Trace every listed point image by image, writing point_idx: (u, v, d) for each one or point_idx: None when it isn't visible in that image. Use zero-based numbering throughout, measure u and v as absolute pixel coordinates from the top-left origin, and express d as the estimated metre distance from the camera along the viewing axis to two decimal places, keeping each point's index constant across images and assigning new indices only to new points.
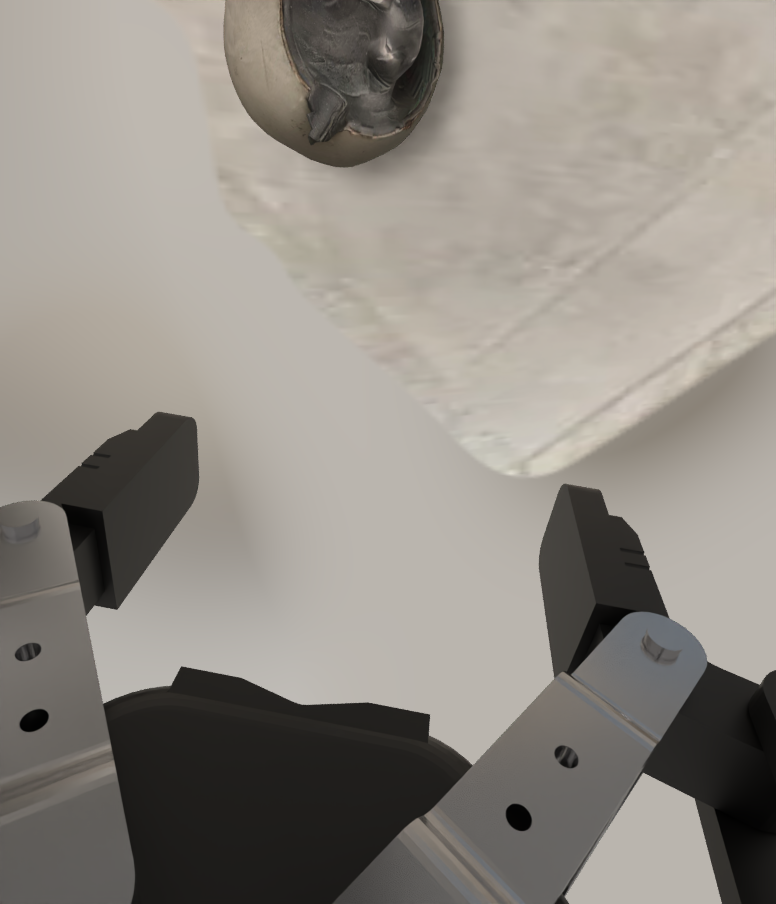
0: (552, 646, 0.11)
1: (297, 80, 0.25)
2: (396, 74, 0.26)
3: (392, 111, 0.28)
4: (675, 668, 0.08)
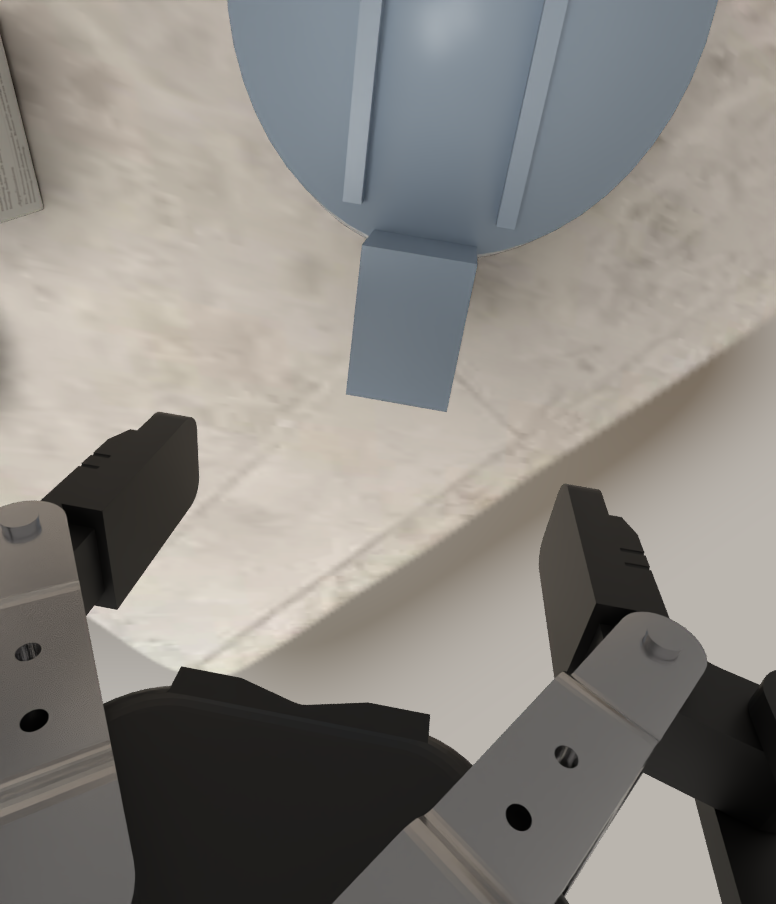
0: (552, 646, 0.11)
1: None
2: None
3: None
4: (675, 668, 0.08)
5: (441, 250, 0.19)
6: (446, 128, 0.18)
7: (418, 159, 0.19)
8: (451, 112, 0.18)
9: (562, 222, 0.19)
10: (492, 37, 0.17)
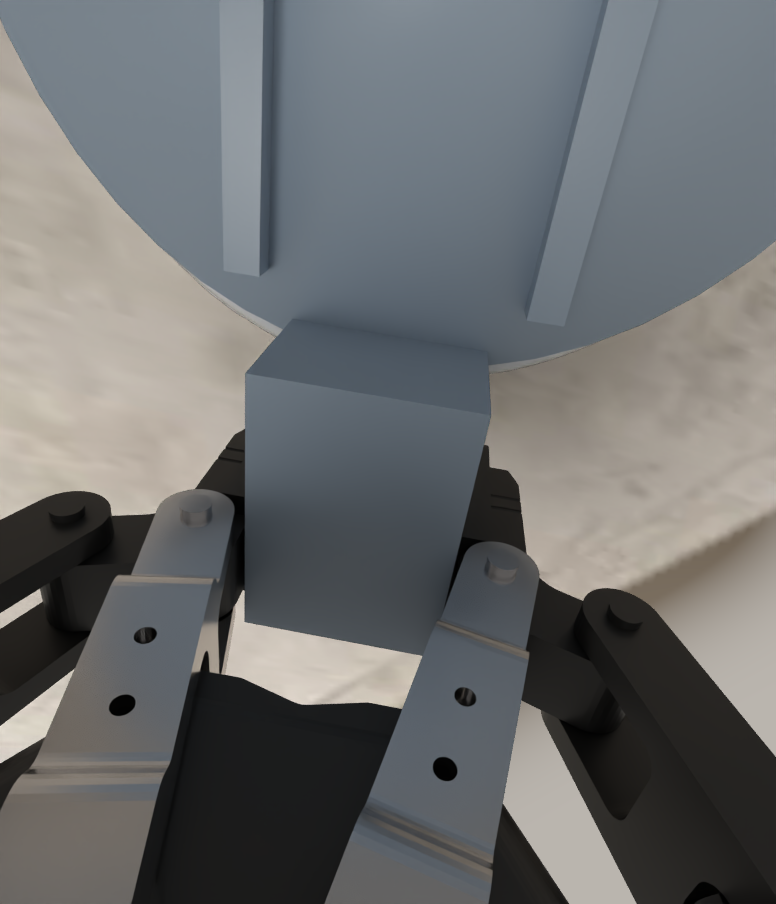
0: None
1: None
2: None
3: None
4: (506, 584, 0.09)
5: (416, 372, 0.09)
6: (425, 126, 0.09)
7: (370, 188, 0.09)
8: (435, 93, 0.09)
9: (657, 310, 0.10)
10: None
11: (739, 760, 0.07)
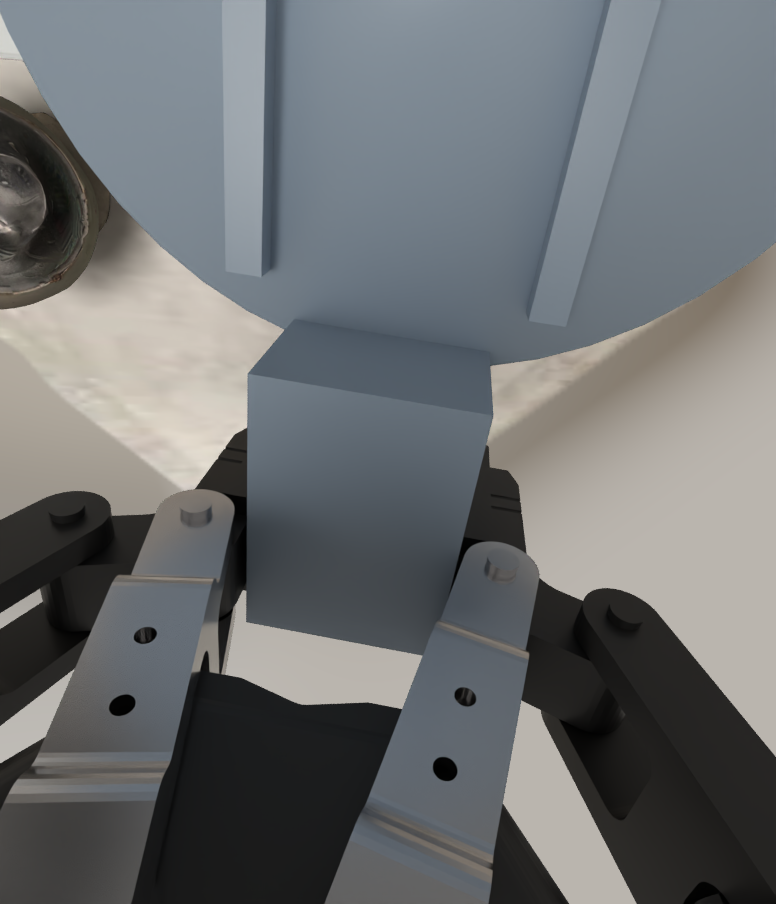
0: None
1: None
2: (19, 243, 0.28)
3: (31, 269, 0.30)
4: (506, 585, 0.09)
5: (418, 373, 0.09)
6: (427, 127, 0.09)
7: (372, 189, 0.09)
8: (437, 94, 0.09)
9: (659, 310, 0.10)
10: None
11: (738, 760, 0.07)
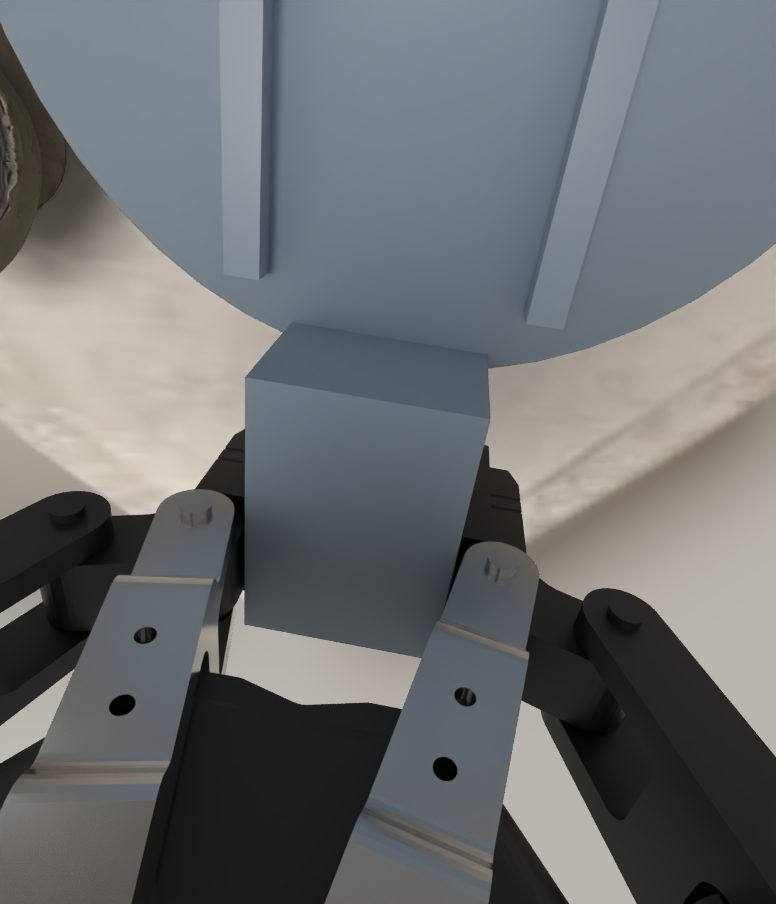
0: None
1: None
2: None
3: None
4: (506, 585, 0.09)
5: (416, 376, 0.09)
6: (424, 130, 0.09)
7: (369, 192, 0.09)
8: (434, 97, 0.09)
9: (656, 313, 0.10)
10: None
11: (739, 760, 0.07)
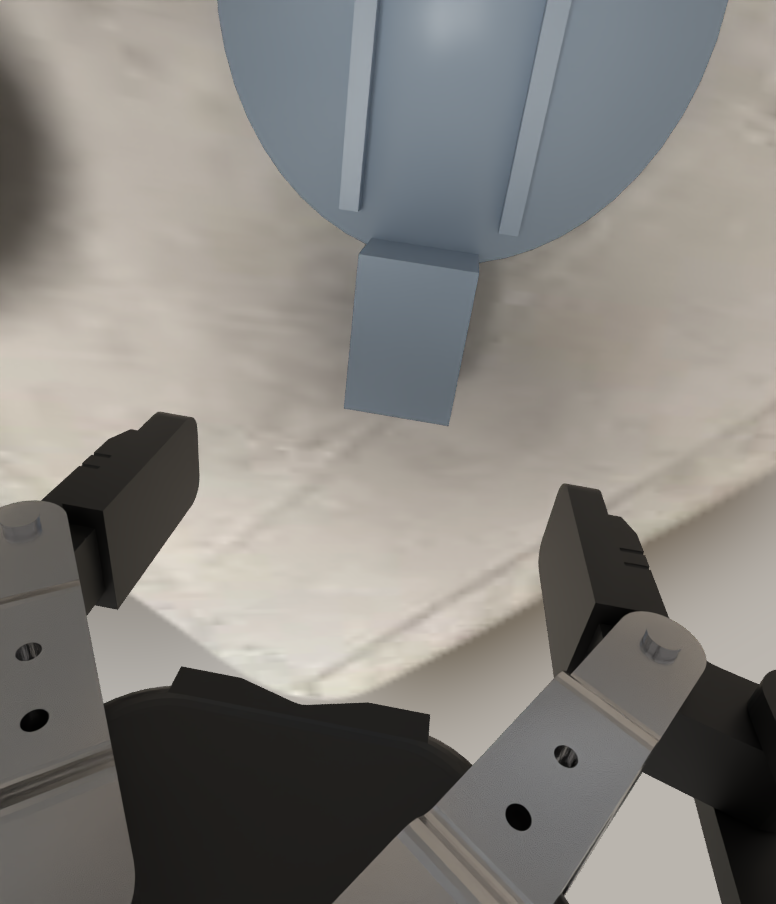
0: (552, 646, 0.11)
1: None
2: None
3: None
4: (674, 668, 0.08)
5: (441, 258, 0.18)
6: (446, 132, 0.17)
7: (417, 164, 0.18)
8: (451, 116, 0.17)
9: (567, 228, 0.18)
10: (493, 37, 0.16)
11: None
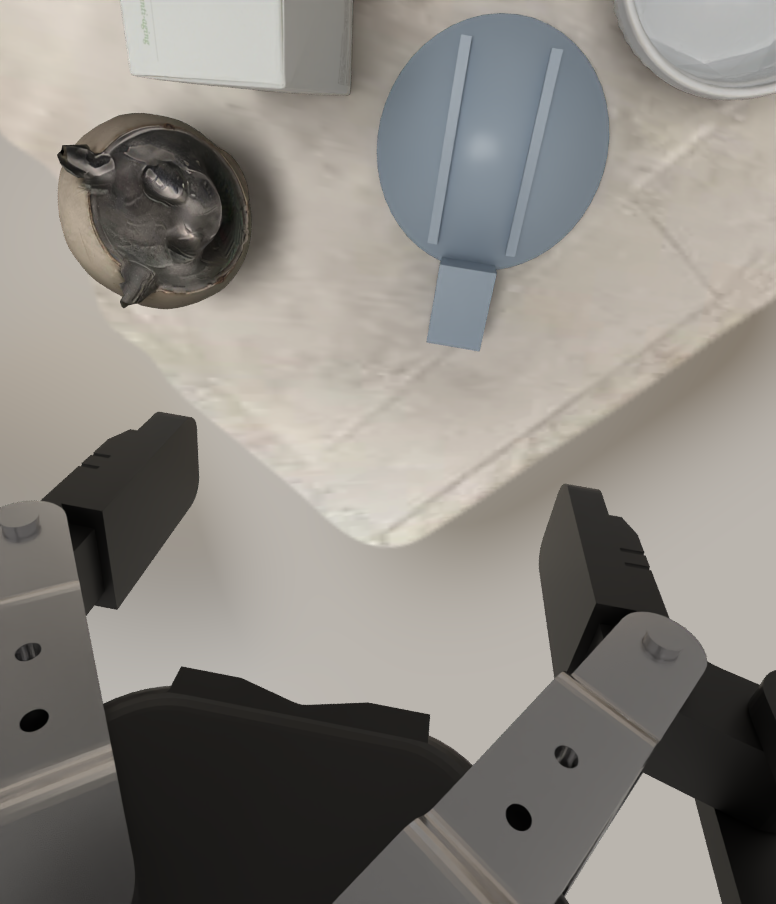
0: (552, 646, 0.11)
1: (109, 258, 0.31)
2: (198, 248, 0.32)
3: (202, 272, 0.33)
4: (675, 668, 0.08)
5: (478, 267, 0.37)
6: (481, 208, 0.37)
7: (466, 222, 0.37)
8: (483, 200, 0.37)
9: (539, 253, 0.38)
10: (503, 167, 0.36)
11: None
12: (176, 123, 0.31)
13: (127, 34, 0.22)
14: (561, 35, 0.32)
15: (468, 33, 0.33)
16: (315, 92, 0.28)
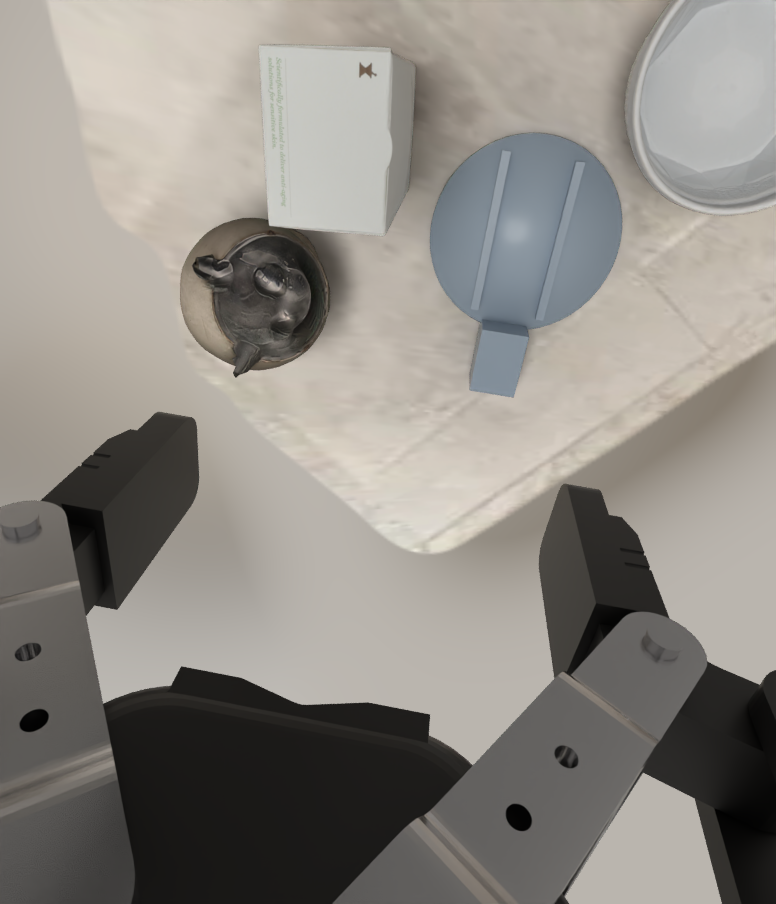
0: (552, 646, 0.11)
1: (225, 339, 0.39)
2: (292, 327, 0.40)
3: (293, 343, 0.41)
4: (675, 668, 0.08)
5: (513, 330, 0.45)
6: (515, 281, 0.45)
7: (503, 292, 0.45)
8: (517, 275, 0.44)
9: (563, 317, 0.46)
10: (535, 250, 0.43)
11: None
12: (275, 229, 0.39)
13: (269, 199, 0.30)
14: (583, 150, 0.40)
15: (508, 148, 0.40)
16: None
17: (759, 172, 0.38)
